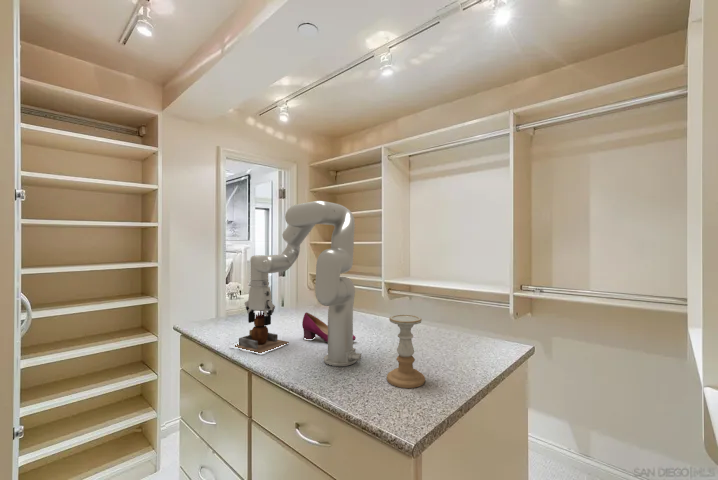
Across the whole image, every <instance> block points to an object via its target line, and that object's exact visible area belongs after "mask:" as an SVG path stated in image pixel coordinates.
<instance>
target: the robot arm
mask: <svg viewBox="0 0 718 480" xmlns="http://www.w3.org/2000/svg"><path fill="white" fill-rule="evenodd" d="M284 215H285V217H284V219H285V222H286V224H287V227H285V229H284V231H283V232H282V234H281V235H282V239H283V240H284V241H285V242H286V244H287V245H286V247H285V248H284V249H283V251H282V253H281V254H269V255H257V254H256V255H252V256H251V257H250V259H249V260H250V262H249V263H250V265H249V266H250V267H249V268H250V270H249V271H250V273H249V274H250V281H249V282H250V283H249V284H250V286H249V291H248V300H247V301H245V302H244V305H245V309H246V312H247V314H248V315H247V317H248V320H247V321H248V324H250V323H254V320H255V318H256V312H255V311H258V312H260V311H261V312H262V313H263V312H264V314H265V316H264V326H266V327H267V326H269V325H271V324H272V315H273V313H274V312H275V308H276V305H275V304H274V303H273V302H272V292H271V287H270V286H269V285H270V281H269V274H276V273H284V272H286V271H288V270H289V269H290V268H291V267H292V266H293V264H294V263H295V262H296V261H297V259H298V257H299V255H300V251H301V250H300V249H301V244H302V243H304V242H303V241H304V240H305V239H306V238H307V237H308V235H309V233H310V232H311V231H312V230H313V228H314V227H315V226H316V225H325V226H326V225H328V226H329V225H330V226H333V227H334V228H333V231H332V234H331V238H330V239H331V243H330V248H326V249H324V250H322V252H320V254H319V255H318V257H317V259H316V265H315V267H316V268H315V286H314V287H315V289H314V291H315V292H314V293H315V297H316V300H317V301H318V303H319V304H320V305H322V306H324V307H328V311H327V326H328V343H327V354H326V355H324V357H323V362H324V363H325V364H326V365H328V364H329V365H328V366H331V365H332V366H331V367H347V366H351V365H353V364H355V363H357V362H360V361H361V360H362V353H359V352H356V351H357V349H356V348H355V347H354V341H353V335H354V302H355V297H356V295H355V294H356V288H355V284H354V282H353V281H352V280H351V279H350V278H349V277H346V276H341V274H346V273H348V272H349V271H351V269H352V268H353V265H354V249H355V248H354V246H355V245H354V244H355V243H354V242H355V241H354V240H355V239H354V238H355V228H356V227H355V226H356V224H355V222H356V220H355V216H354V215H353V212H352V211H351V210H350V209H349V208H347V207H346V206H344V205H342V204H340V203H336V202H329V201H325V200H314V201H309V202H303V203H297V204H293V205H291V206H290V207H288V208H287V210H286V213H285V214H284Z"/></svg>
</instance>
